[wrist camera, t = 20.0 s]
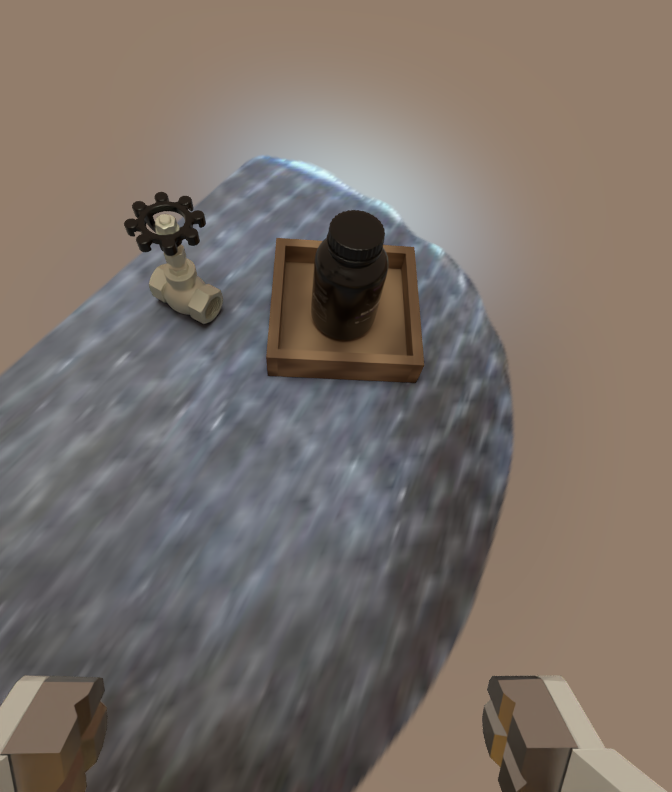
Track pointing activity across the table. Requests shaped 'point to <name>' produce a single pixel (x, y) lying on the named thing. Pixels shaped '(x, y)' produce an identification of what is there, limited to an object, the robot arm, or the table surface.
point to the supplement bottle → (349, 275)
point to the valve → (175, 257)
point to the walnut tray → (332, 358)
